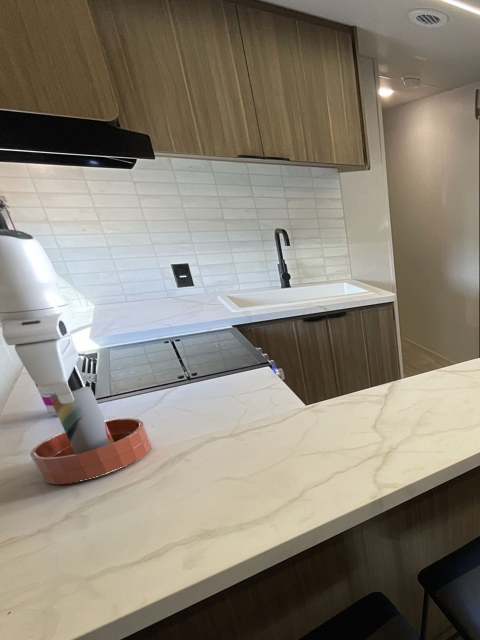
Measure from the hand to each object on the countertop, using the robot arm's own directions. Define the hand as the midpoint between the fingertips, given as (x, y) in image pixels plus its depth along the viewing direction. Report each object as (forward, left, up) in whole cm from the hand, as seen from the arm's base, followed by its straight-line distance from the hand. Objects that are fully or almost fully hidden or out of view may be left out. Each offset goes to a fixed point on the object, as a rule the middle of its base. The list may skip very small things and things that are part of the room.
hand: (71, 394), depth 77 cm
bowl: (0, 0, -15) cm, 15 cm away
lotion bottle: (0, 0, -15) cm, 15 cm away
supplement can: (-8, +42, -15) cm, 45 cm away
